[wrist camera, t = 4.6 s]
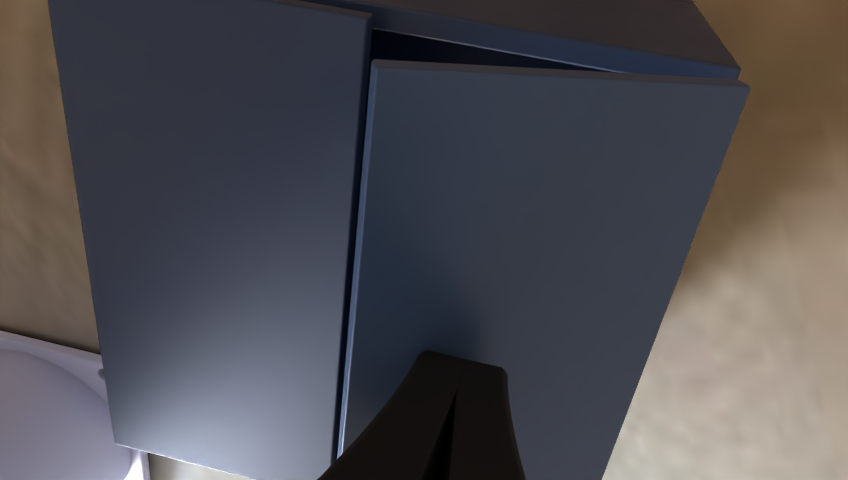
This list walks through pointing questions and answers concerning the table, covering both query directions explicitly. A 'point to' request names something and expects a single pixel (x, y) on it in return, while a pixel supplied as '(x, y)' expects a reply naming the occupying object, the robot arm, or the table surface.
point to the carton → (272, 189)
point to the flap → (528, 238)
